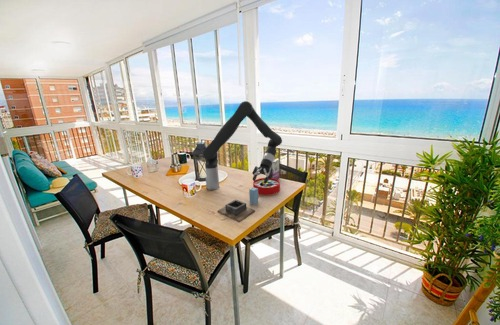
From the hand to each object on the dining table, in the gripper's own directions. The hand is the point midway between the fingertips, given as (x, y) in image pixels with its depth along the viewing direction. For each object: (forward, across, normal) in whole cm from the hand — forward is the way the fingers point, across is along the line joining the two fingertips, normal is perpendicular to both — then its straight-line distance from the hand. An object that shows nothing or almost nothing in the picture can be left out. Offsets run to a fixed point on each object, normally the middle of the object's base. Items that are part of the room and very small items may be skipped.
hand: (259, 181), depth 130 cm
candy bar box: (-18, -9, +36) cm, 41 cm away
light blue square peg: (+14, 0, +4) cm, 14 cm away
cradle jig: (+24, -3, -6) cm, 25 cm away
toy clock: (-2, -4, +21) cm, 21 cm away
